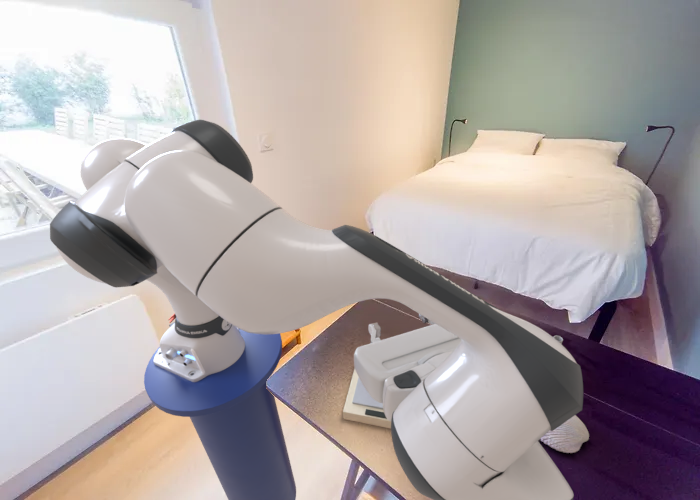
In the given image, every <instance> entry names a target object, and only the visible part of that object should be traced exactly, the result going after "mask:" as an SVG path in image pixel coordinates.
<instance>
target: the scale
mask: <svg viewBox="0 0 700 500" xmlns="http://www.w3.org/2000/svg"><path fill="white" fill-rule="evenodd" d="M342 418H343V420H347V421H351V422H355V423H361V424H366V425H371V426H376V427H381V428H385V429H389V430H391V421H389V420H388V419H387V418H386V416H385V414H384V409H383V403H379V402H377V401H376V400H374V399H373V398H372V397H371V396H370V394H369V393H368V392H367V390H366V389H365V387H364V385H363V384H362V382H361V380H360V378H359V377H358V375H357V372H356V370H355V368H354V369H353V373H352V376H351V381H350V383H349V387H348V392H347V395H346V399H345V403H344V406H343V411H342Z"/></svg>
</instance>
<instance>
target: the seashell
mask: <svg viewBox="0 0 700 500" xmlns="http://www.w3.org/2000/svg"><path fill="white" fill-rule="evenodd" d="M589 437H590V433H589V431H588V429H587V426H586V424H585V423H584V422H583V421H582V420H581V419H580V418H579V417H578V416H577V414H576V415H574V416H573V417H572V418H570V419H569V420H567V421H566V422H565V423H563V424H562V425H560V426H559V427H557V428H556V429H555V430H553V431H551V430H550V431H549V432H547V433H546V434H545V435H544V436H543V437H542V438H541V439H540V442H543V444H545V445H547V446H548V447H549V448H550V449H551V448H552V449H554V450H555V451H557V452H561V453H563V454H564V453H566V454H569V453H570V454H573V453H577V452H578V451H580V449H581V447H582V445H583V443H585V442H588V441H589V440H590V438H589Z"/></svg>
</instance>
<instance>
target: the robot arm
mask: <svg viewBox="0 0 700 500" xmlns="http://www.w3.org/2000/svg"><path fill="white" fill-rule="evenodd" d="M248 156H249V155H248V154H247V153H246V151H245V150H244V148H243V147H242V146H241V144H240V143H239V142H238V140H237V139H235V137H234V136H233V135H232V134H230V132H229V131H227V130H226V129H225V128H224V127H222V126H221V125H219V124H218V123H215V122H213V121H208V120H204V119H195V120H192V121H191V120H190V121H188V122H184V123H182V124H179V125H177V126H175V127H173V128H172V129H171V131H170V133H168V134H166V135H164V136H162V137H160V138H158V139H156V140H154V141H152V142H151V143H149V144H146V143H144V142H143V141H139V140H136V139H132V138H126V137H117V138H115V137H114V138H110V139H106V140H102V141H100V142H98V143H96V144H95V145H93V146H91V148H90V149H89V150H88V151H87V152H86V153H85V155H84V157H83V159H82V161H81V163H80V178H81V181H82V183H83V185H84V188H85V189H86V191H85V192H84V193H83V194H82V195H81V196H80V197H79V198H78V199H77V200H76V201H75V202H74V201H70V200H69V201H68V202H67V203H66V204H65V205H64V206H63V207H62V208H61V209H60V211H58V212H57V214H56V215H55V216H54V217H53V219H52V220H51V222H50V223H49V239H50V240H49V241H51V243H52V244H53V245H54V246H55V248H56V250H57V251H58V253H59V255H60V256H61V257H62V259H63V260H64V261H65V263H67V265H68V266H70V268H72V270H74V271H75V272H77V273H78V274H80V275H82V276H83V277H84V278H88V279H89V280H93V281H95V282H98V283H100V284H106V285H108V286H111V287H112V288H128V287H134V286H136V285H138V284H140V283H144V281H148V282H150V283H151V284H153V285H154V286H155V287H157V288H159V290H160V291H161V292H162V293H163V294H164V295H165V296H166V298H167V300H168V302H169V304H170V306H171V308H172V310H173V312H174V313H173V314H172V315H171V316H170V317H169V318H168V319H167V321H169V322H168V323H169V325H168V326H169V328H167V329H166V330H165V332H164V333H163V335H162V336H161V338H160V339H159V347H160V349H159V350H158V351H157V353H156V355H155V357H154V360H153V362H154V364H155V365H156V366H159V367H161V368H163V369H165V370H167V371H170V372H172V373H174V374H176V375H178V376H181V377H183V378H185V379H187V380H189V381H191V382H197V381H199V380H201V379H203V378H205V377H206V376H208V375H211V374H214V373H217V372H220V371H222V370H224V369H226V368H228V367H230V366H231V365H232V364H234V363H235V362H236V361H237V360H238V359H239V358H240V357H241V355H242V353H243V351H244V349H245V341H244V339H243V337H242V336H241V334H240V333H239V329H241V330H243V331H246V332H248V333H254V334H279V333H280V334H284V333H285V334H286V333H290V332H293V331H295V330H299V329H302V328H305V327H306V326H309V325H311V324H313V323H315V322H317V321H319V320H321V319H323V318H325V317H327V316H329V315H331V314H333V313H335V312H337V311H339V310H342V309H344V308H346V307H348V306H351V305H354V304H356V303H361V302H363V301H367V300H368V301H369V300H376V299H382V300H389V301H390V300H391V301H394V302H397V303H400V304H402V305H404V306H406V307H407V308H409V309H411V310H412V311H414V312H415V313H417V314H418V318H419V319H420V320H421V322H422V323H423V324H427V323H428V324H430V325H427V326H423V327H420V328H417V329H413V330H410V331H407V332H404V333H401V334H400V333H399V334H397V335H394V336H393V335H392V336H391V337H387V338H383V339H381V338H380V337H381V336H382V333H381V332H382V328H381V326H380V325H379V323H378V322H373V323H369V324H368V333H369V335H370V343H367V344H364V345H361V346H358V347H356V349H355V350H354V354H353V366H354V369H355V370H356V372H357V375H358V377H359V378H360V380H361V382H362V384H363V385H364V387H365V389H366V390H367V392H368V393H369V394H370V396H371V397H372V398H373V399H374V400H376V401H377V402H379V403H383V409H384V414H385V416H386V418H387V419H388V420H389V421H391V429H390V435H391V440H392V441H391V443H392V446H393V450H394V454H395V457H396V458H397V462H398V463H399V465H400V467H401V469H402V471H403V473H404V474H405V476H406V478H407V479H408V481H409V483H410V484H412V486H413V488H414V489H415V490H416V491H417V492H418V493H419V494H420V495H422V496H424V497H426V498H429V499H431V500H574V496H575V495H574V491H573V489H572V487H571V486H570V484H569V482H568V481H567V480H566V478H565V476H564V475H563V473H562V472H561V471H560V469H559V468H558V466H557V464H556V463H555V462H554V461H553V459H552V457H550V455H549V453H548V452H547V451H546V449H545V448H544V447H543V445H542V444H541V443H540V441H541V438H542V437H543V436H544V435H545V434H546V433H547V432H549V431H550V430H551V431H553V430H555V429H556V428H557V427H559V426H560V425H562V424H563V423H565V422H566V421H567V420H569V419H570V418H572V417H573V416H574V415H576V416H577V414H579V413H580V412H582V411H583V407H584V406H583V405H584V382H583V381H584V380H583V372H582V369H581V368H582V367H581V365H580V364H578V363H577V361H576V359H575V358H574V356H573V355H572V354H571V352H570V351H569V350H568V349H567V348H566V347H565V346H564V345H563V343H562V344H561V343H559V342H558V341H557V340H556V339H555V338H553V337H554V336H552V335H551V334H549V332H547V331H545V330H544V329H542V328H540V327H539V326H538V325H535V324H533V323H532V322H529V321H527V320H526V319H523V318H520V317H518V316H515V315H513V314H510V313H508V312H505V311H503V310H501V309H500V308H497V306H494V305H493V304H491V303H489V302H487V301H486V300H484V299H482V298H480V297H479V296H477V295H476V294H474V293H473V292H471V291H469V290H467V289H466V288H464V287H463V286H461V285H460V284H458V283H456V282H454V281H453V280H451V279H449V278H448V277H446V276H444V275H443V274H441V273H440V272H438V271H436V270H435V269H433V268H432V267H430V266H428V265H426V264H425V263H423V262H421V261H420V260H419V259H416V258H415V257H413V256H411V255H410V254H408V253H406V252H405V251H403V250H401V249H400V248H399V247H396V246H394V245H393V244H391V243H389V242H388V241H386V240H384V239H382V238H380V237H379V236H377V235H375V234H373V233H371V232H369V231H366V230H364V229H362V228H360V227H357V226H353V225H350V224H343V225H340V226H337V227H335V228H332V229H325V228H321V227H316V226H314V225H310V224H308V223H306V222H303V221H302V220H299V219H297V218H296V217H294V216H293V215H291V214H290V213H289V212H287V210H285V209H284V208H283V207H282V206H281V205H279V203H277V202H276V201H274V199H272V198H271V197H270V196H268V195H267V194H266V193H264V192H263V191H262V190H261V189H259V188H258V187H257V186H255V185H254V184H253V181H254V172H253V166H252V162H251V161H250V158H249V157H248Z"/></svg>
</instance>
